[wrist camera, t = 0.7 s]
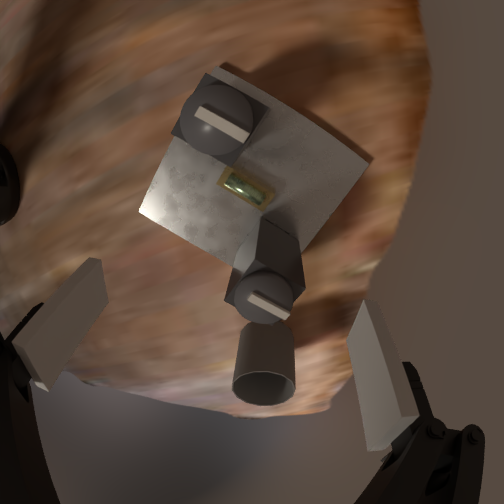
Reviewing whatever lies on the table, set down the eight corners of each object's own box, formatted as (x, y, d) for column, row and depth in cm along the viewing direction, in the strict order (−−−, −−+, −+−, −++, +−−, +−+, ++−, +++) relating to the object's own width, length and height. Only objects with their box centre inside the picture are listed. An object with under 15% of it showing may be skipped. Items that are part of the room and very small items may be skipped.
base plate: (141, 209, 35) (138, 211, 34) (217, 66, 27) (215, 65, 26) (272, 284, 39) (272, 289, 38) (366, 162, 30) (369, 164, 30)
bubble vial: (218, 180, 32) (213, 186, 30) (229, 162, 31) (225, 167, 29) (263, 207, 33) (262, 215, 31) (275, 190, 32) (275, 197, 30)
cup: (232, 324, 43) (221, 375, 34) (284, 313, 41) (285, 365, 32) (250, 360, 46) (245, 408, 38) (298, 350, 45) (300, 401, 36)
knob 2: (237, 251, 36) (221, 310, 26) (260, 217, 33) (253, 267, 23) (273, 272, 37) (271, 335, 27) (298, 240, 34) (306, 297, 24)
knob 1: (202, 126, 29) (164, 135, 19) (227, 84, 27) (201, 70, 17) (244, 150, 30) (227, 171, 20) (271, 109, 28) (268, 107, 18)
